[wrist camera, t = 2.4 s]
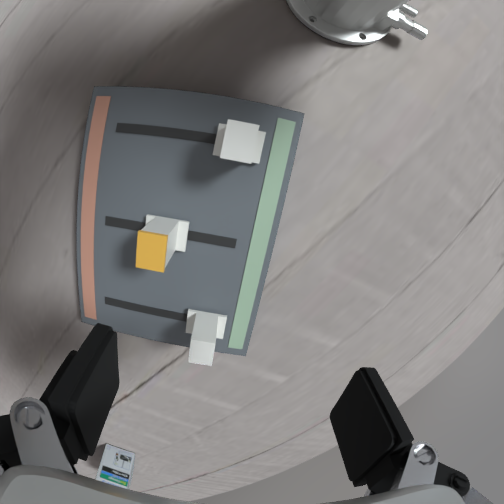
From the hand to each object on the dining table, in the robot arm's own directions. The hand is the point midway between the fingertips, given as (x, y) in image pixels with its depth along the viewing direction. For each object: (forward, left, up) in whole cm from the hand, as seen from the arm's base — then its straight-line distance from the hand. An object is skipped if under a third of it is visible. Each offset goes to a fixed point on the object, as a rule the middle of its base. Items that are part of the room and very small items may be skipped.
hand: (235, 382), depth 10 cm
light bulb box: (+16, +54, -21) cm, 61 cm away
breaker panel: (+6, 0, -21) cm, 22 cm away
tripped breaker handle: (+6, 0, -17) cm, 19 cm away
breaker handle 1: (+1, +9, -17) cm, 20 cm away
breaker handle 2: (+1, -9, -17) cm, 19 cm away
